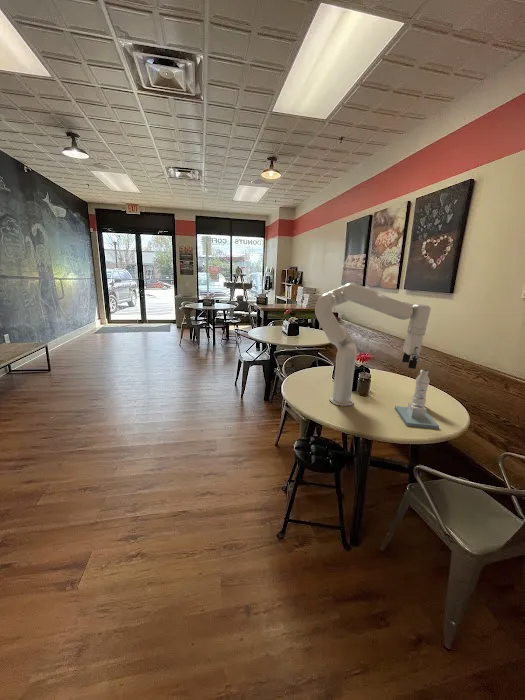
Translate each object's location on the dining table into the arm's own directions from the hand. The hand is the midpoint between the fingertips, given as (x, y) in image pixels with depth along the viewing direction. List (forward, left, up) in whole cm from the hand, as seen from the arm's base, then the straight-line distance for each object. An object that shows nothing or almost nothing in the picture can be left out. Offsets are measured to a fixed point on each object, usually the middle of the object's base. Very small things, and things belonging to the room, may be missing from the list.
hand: (408, 365), depth 142 cm
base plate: (+6, +5, -25) cm, 26 cm away
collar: (+6, +5, -24) cm, 25 cm away
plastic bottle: (-10, +12, -25) cm, 30 cm away
